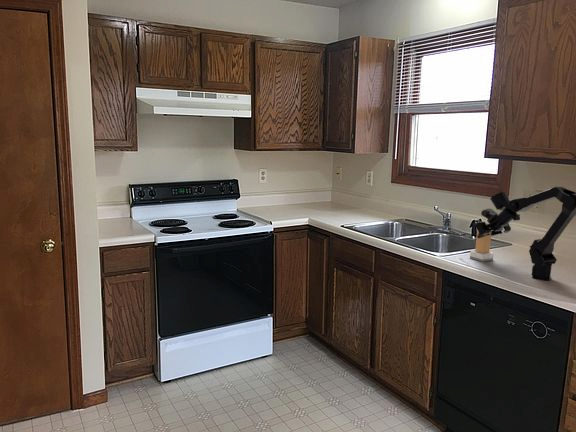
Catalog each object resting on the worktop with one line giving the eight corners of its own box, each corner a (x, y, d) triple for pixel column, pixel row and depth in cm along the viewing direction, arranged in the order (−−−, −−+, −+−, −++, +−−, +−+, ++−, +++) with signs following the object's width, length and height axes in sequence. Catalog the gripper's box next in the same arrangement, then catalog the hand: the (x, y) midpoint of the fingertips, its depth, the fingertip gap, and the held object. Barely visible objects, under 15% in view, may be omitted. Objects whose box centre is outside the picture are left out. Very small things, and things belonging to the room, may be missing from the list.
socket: (492, 260, 226) (493, 252, 225) (482, 261, 222) (483, 254, 222) (480, 256, 232) (481, 249, 231) (469, 257, 229) (470, 250, 228)
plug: (489, 251, 226) (492, 226, 223) (482, 252, 223) (485, 226, 221) (481, 249, 229) (484, 224, 227) (475, 250, 227) (477, 224, 225)
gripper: (508, 202, 223) (486, 221, 235) (480, 204, 215) (458, 224, 226) (521, 222, 218) (498, 241, 229) (493, 225, 209) (470, 244, 221)
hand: (481, 237), depth 226 cm, fingers closed on plug, 4 cm apart
